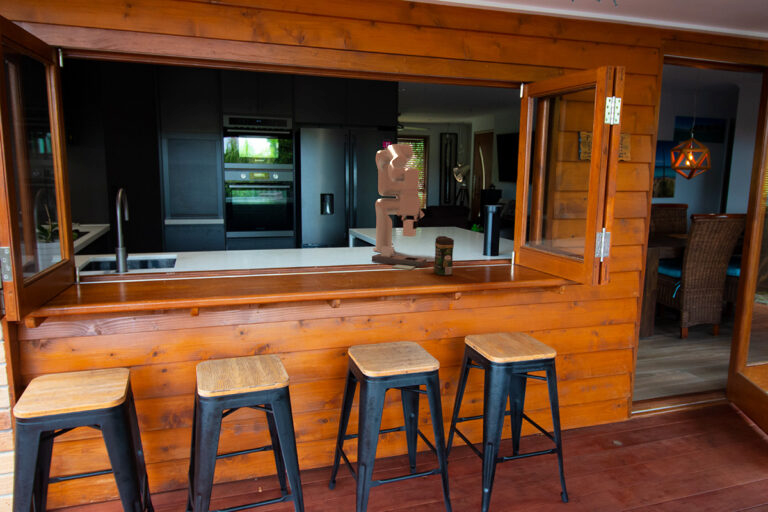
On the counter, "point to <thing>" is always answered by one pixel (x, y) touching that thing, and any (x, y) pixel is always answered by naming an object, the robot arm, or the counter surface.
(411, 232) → the pale pink rectangular block
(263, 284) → the counter surface
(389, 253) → the brown wooden block
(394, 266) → the mat
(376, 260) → the board with square holes
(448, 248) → the coffee jar
